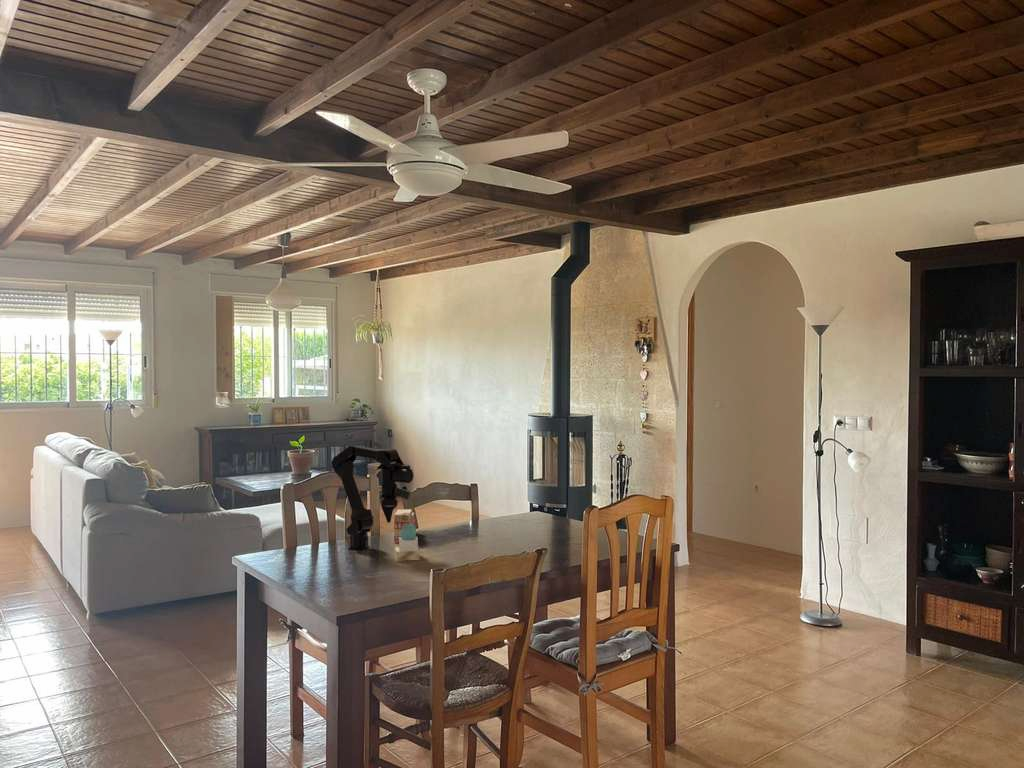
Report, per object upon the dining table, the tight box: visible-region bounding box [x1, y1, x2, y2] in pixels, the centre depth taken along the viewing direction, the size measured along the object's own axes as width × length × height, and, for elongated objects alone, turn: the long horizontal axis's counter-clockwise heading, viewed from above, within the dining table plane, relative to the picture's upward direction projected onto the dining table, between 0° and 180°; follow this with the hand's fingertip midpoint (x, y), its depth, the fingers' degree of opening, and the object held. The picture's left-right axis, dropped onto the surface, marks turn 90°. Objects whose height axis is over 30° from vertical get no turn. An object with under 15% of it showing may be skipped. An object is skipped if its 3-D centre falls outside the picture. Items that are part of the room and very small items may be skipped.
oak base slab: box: [394, 546, 421, 562], centre depth 302 cm, size 9×9×4 cm
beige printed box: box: [393, 508, 415, 543], centre depth 339 cm, size 21×6×12 cm, turn 1°
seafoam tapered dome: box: [401, 524, 417, 540], centre depth 302 cm, size 6×6×5 cm
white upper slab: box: [398, 536, 419, 552], centre depth 302 cm, size 7×7×4 cm
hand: (388, 520), depth 310 cm, fingers open, 9 cm apart
